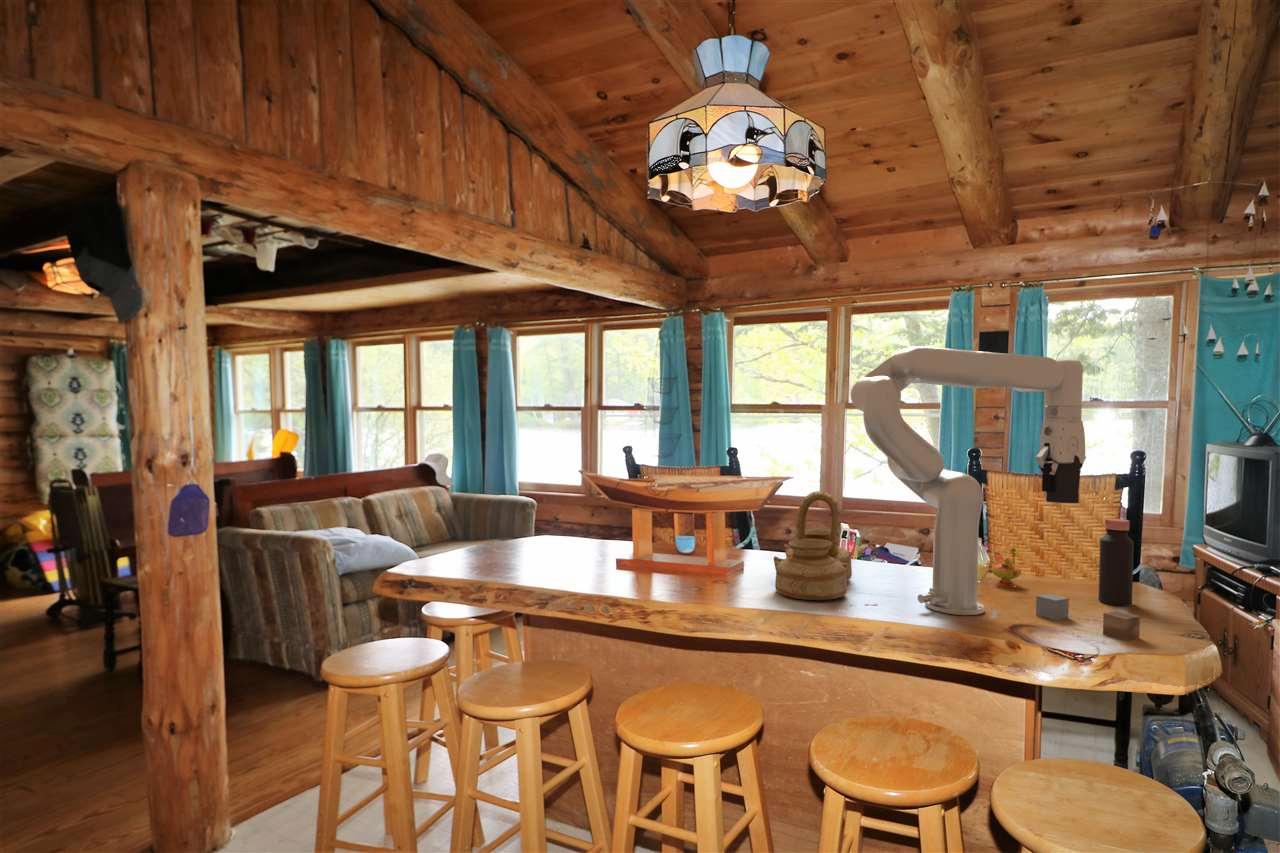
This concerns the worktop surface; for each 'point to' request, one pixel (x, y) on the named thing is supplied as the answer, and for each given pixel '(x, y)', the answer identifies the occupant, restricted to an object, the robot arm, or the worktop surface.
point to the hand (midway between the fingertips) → (1060, 490)
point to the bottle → (1116, 564)
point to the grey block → (1052, 606)
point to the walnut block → (1121, 625)
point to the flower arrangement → (1005, 569)
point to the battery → (1066, 483)
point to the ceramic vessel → (814, 557)
